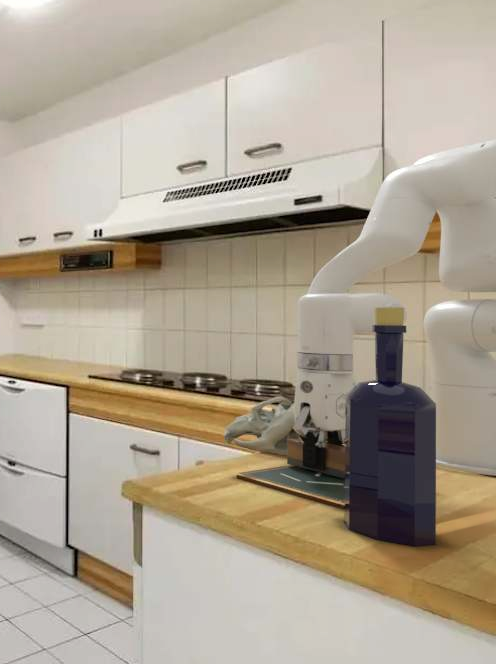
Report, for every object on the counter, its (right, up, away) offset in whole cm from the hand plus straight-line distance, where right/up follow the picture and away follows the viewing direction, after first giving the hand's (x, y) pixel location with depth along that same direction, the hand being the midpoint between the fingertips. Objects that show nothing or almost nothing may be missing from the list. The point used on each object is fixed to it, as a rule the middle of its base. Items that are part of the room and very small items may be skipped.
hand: (323, 465), depth 96 cm
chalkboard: (-3, -2, -4) cm, 5 cm away
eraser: (0, -1, 0) cm, 1 cm away
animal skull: (+4, -2, +16) cm, 17 cm away
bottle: (-11, -2, -23) cm, 26 cm away
